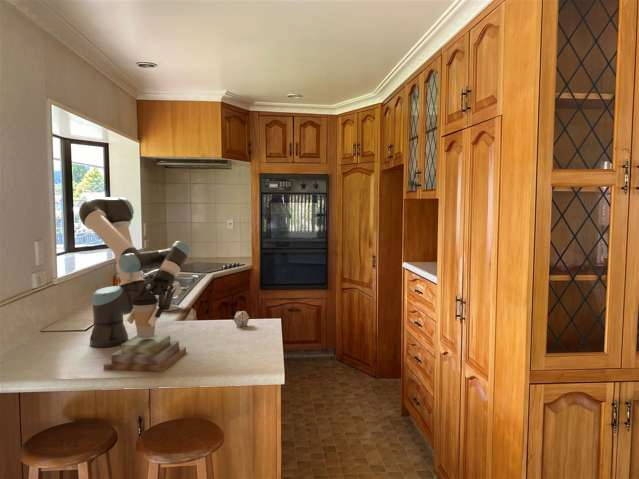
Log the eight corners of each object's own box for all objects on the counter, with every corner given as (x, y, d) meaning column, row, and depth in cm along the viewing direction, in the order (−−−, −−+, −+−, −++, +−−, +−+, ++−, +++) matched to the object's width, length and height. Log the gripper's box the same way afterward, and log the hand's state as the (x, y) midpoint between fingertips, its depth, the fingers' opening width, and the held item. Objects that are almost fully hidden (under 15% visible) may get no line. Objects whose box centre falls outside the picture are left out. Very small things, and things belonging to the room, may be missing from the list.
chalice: (150, 309, 260) (149, 282, 259) (172, 305, 271) (171, 279, 270) (164, 313, 251) (163, 285, 250) (186, 308, 262) (185, 282, 261)
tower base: (103, 369, 168) (102, 348, 167) (134, 350, 190) (133, 331, 189) (161, 372, 166) (161, 350, 165) (186, 352, 187) (185, 332, 187)
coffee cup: (137, 333, 181) (135, 295, 180) (162, 332, 182) (160, 294, 181) (129, 340, 172) (127, 300, 170) (155, 339, 173) (154, 299, 171)
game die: (244, 335, 224) (245, 322, 217) (228, 328, 225) (229, 314, 218) (252, 322, 230) (254, 309, 224) (237, 315, 232) (238, 302, 225)
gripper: (193, 281, 186) (168, 331, 172) (149, 278, 194) (122, 325, 180) (185, 270, 180) (158, 320, 167) (140, 267, 188) (111, 315, 175)
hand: (139, 323), depth 174 cm, fingers closed on coffee cup, 9 cm apart
